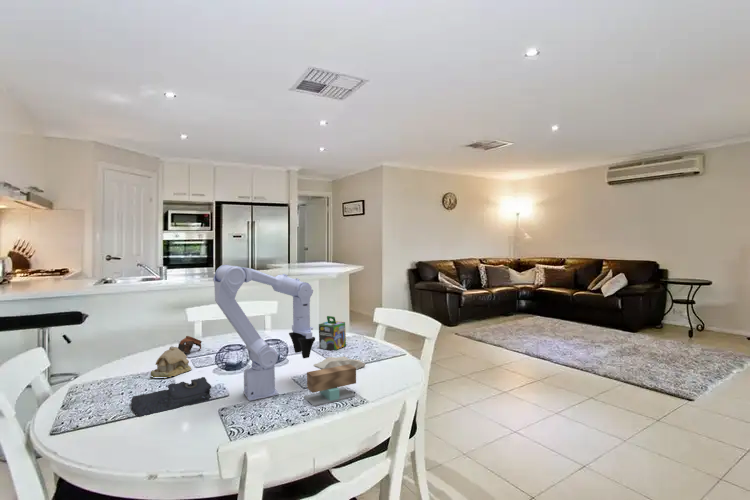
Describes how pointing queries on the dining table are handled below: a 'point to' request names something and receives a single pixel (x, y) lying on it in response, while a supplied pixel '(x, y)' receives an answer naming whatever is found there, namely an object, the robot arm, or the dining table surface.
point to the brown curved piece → (188, 344)
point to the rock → (338, 363)
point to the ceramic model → (171, 363)
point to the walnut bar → (331, 378)
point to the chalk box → (332, 334)
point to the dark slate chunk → (172, 397)
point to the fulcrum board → (323, 400)
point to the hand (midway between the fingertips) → (301, 354)
